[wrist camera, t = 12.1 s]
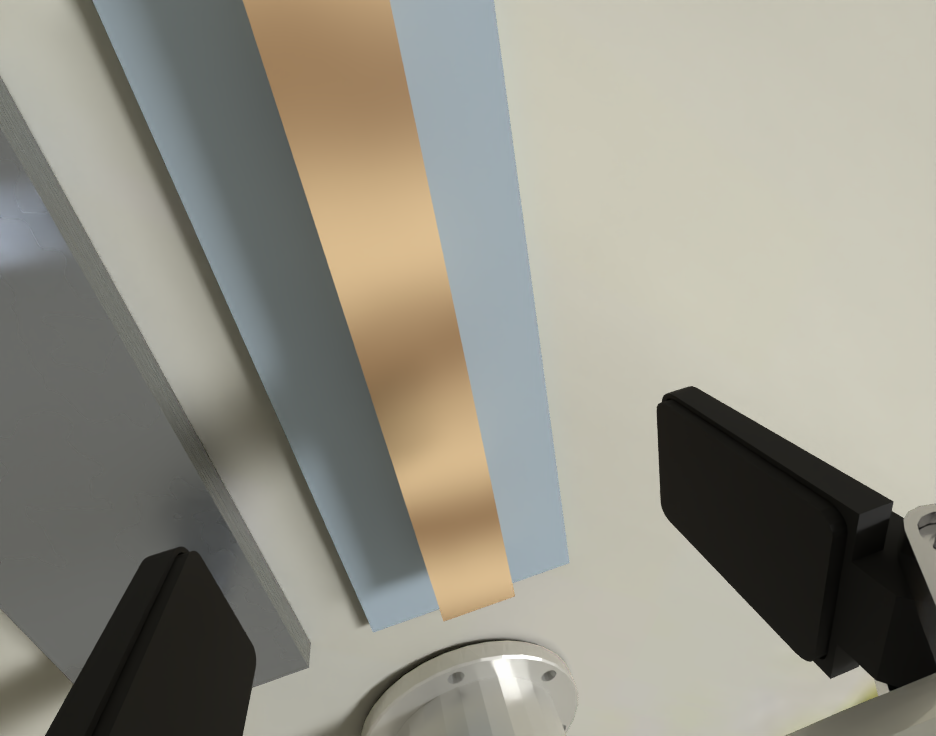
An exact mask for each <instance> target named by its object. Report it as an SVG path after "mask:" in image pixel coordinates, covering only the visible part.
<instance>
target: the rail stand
mask: <svg viewBox="0 0 936 736" xmlns="http://www.w3.org/2000/svg"><path fill="white" fill-rule="evenodd" d="M176 547H185V548H186V549H188V551H189V552H191V551H197V552H198V553H199V554H200V555H201V557H202V559H203V560H204V562H205V564H206V565H207V567H208V569H209V571H210V572H211V574H212V576H213V577H214V579H215V581H216V583H217V584H218V586H219V588H220V589H221V591H222V593H223V595H224V596H225V598H226V600H227V601H228V603H229V605H230V607H231V608H232V610H233V612H234V613H235V615H236V617H237V618H238V620H239V622H240V624H241V625H242V627H243V629H244V630H245V632H246V634H247V636H248V637H249V639H250V641H251V642H252V644H253V646H254V649H255V653H256V669H255V675H254V680H253V685H252V688H253V687H256V686H258V685H261V684H264V683H267V682H270V681H272V680H275V679H278V678H281V677H284V676H286V675H289V674H292V673H295V672H298V671H300V670H303V669H306V668H309V659H310V645H311V643H310V641H309V639H308V637H307V635H306V634H305V632H304V630H303V628H302V626H301V625H300V623H299V621H298V619H297V617H296V615H295V614H294V612H293V610H292V608H291V606H290V604H289V603H288V601H287V599H286V597H285V595H284V593H283V592H282V590H281V588H280V586H279V584H278V583H277V581H276V579H275V577H274V575H273V573H272V572H271V570H270V568H269V566H268V564H267V562H266V561H265V559H264V557H263V555H262V553H261V552H260V550H259V548H258V546H257V544H256V542H255V541H254V539H253V537H252V535H251V533H250V531H249V530H248V528H247V526H246V524H245V522H244V520H243V519H242V517H241V515H240V513H239V511H238V510H237V508H236V506H235V504H234V502H233V500H232V499H231V497H230V495H229V493H228V491H227V489H226V488H225V486H224V484H223V482H222V480H221V478H220V477H219V475H218V473H217V471H216V469H215V468H214V466H213V464H212V462H211V460H210V458H209V457H208V455H207V453H206V451H205V449H204V447H203V446H202V444H201V442H200V440H199V438H198V436H197V435H196V433H195V431H194V429H193V427H192V426H191V424H190V422H189V420H188V418H187V416H186V415H185V413H184V411H183V409H182V407H181V405H180V404H179V402H178V400H177V398H176V396H175V394H174V393H173V391H172V389H171V387H170V385H169V384H168V382H167V380H166V378H165V376H164V374H163V373H162V371H161V369H160V367H159V365H158V363H157V362H156V360H155V358H154V356H153V354H152V352H151V351H150V349H149V347H148V345H147V343H146V342H145V340H144V338H143V336H142V334H141V332H140V331H139V329H138V327H137V325H136V323H135V321H134V320H133V318H132V316H131V314H130V312H129V310H128V309H127V307H126V305H125V303H124V301H123V300H122V298H121V296H120V294H119V292H118V290H117V289H116V287H115V285H114V283H113V281H112V279H111V278H110V276H109V274H108V272H107V270H106V268H105V267H104V265H103V263H102V261H101V259H100V258H99V256H98V254H97V252H96V250H95V248H94V247H93V245H92V243H91V241H90V239H89V237H88V236H87V234H86V232H85V230H84V228H83V226H82V225H81V223H80V221H79V219H78V217H77V216H76V214H75V212H74V210H73V208H72V206H71V205H70V203H69V201H68V199H67V197H66V195H65V194H64V192H63V190H62V188H61V186H60V185H59V183H58V181H57V179H56V177H55V175H54V174H53V172H52V170H51V168H50V166H49V164H48V163H47V161H46V159H45V157H44V155H43V153H42V152H41V150H40V148H39V146H38V144H37V143H36V141H35V139H34V137H33V135H32V133H31V132H30V130H29V128H28V126H27V124H26V122H25V121H24V119H23V117H22V115H21V113H20V111H19V110H18V108H17V106H16V104H15V102H14V101H13V99H12V97H11V95H10V93H9V91H8V90H7V88H6V86H5V84H4V82H3V80H2V79H1V77H0V609H1V610H2V611H3V612H4V613H5V614H6V615H7V616H8V617H9V618H10V619H11V620H12V621H13V622H14V623H15V624H16V625H17V626H18V627H19V628H20V629H21V630H22V631H23V632H24V633H25V634H26V635H27V636H28V637H29V638H30V639H31V641H32V642H33V643H34V644H35V645H36V646H37V647H38V648H39V649H40V650H41V651H42V652H43V653H44V654H45V655H46V656H47V657H48V658H49V659H50V660H51V661H52V662H53V663H54V664H55V665H56V666H57V667H58V668H59V669H60V670H61V671H62V672H63V673H64V674H65V676H66V677H67V678H68V679H69V680H70V681H71V682H72V683H73V684H74V683H75V681H76V679H77V677H78V676H79V674H80V672H81V670H82V668H83V667H84V665H85V663H86V661H87V659H88V658H89V656H90V654H91V652H92V650H93V649H94V647H95V645H96V643H97V641H98V640H99V638H100V636H101V634H102V632H103V631H104V629H105V627H106V625H107V623H108V622H109V620H110V618H111V616H112V614H113V613H114V611H115V609H116V607H117V605H118V604H119V602H120V600H121V598H122V596H123V595H124V593H125V591H126V589H127V587H128V586H129V584H130V582H131V580H132V578H133V577H134V575H135V573H136V571H137V569H138V568H139V566H140V564H141V562H142V561H143V560H144V559H145V558H146V557H148V556H151V555H154V554H157V553H161V552H164V551H167V550H170V549H173V548H176Z"/></svg>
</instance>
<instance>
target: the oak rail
mask: <svg viewBox="0 0 936 736" xmlns="http://www.w3.org/2000/svg"><path fill="white" fill-rule="evenodd" d="M243 3H244V6H245V9H246V12H247V15H248V18H249V21H250V25H251V28H252V31H253V34H254V37H255V40H256V43H257V46H258V49H259V52H260V55H261V59H262V62H263V65H264V68H265V71H266V74H267V77H268V80H269V83H270V86H271V89H272V93H273V96H274V99H275V102H276V105H277V108H278V111H279V114H280V117H281V120H282V123H283V127H284V130H285V133H286V136H287V139H288V142H289V145H290V148H291V151H292V154H293V157H294V161H295V164H296V167H297V170H298V173H299V176H300V179H301V182H302V185H303V188H304V191H305V195H306V198H307V201H308V204H309V207H310V210H311V213H312V216H313V219H314V222H315V225H316V229H317V232H318V235H319V238H320V241H321V244H322V247H323V250H324V253H325V256H326V259H327V263H328V266H329V269H330V272H331V275H332V278H333V281H334V284H335V287H336V290H337V293H338V297H339V300H340V303H341V306H342V309H343V312H344V315H345V318H346V321H347V324H348V327H349V331H350V334H351V337H352V340H353V343H354V346H355V349H356V352H357V355H358V358H359V361H360V364H361V368H362V371H363V374H364V377H365V380H366V383H367V386H368V389H369V392H370V395H371V398H372V402H373V405H374V408H375V411H376V414H377V417H378V420H379V423H380V426H381V429H382V432H383V436H384V439H385V442H386V445H387V448H388V451H389V454H390V457H391V460H392V463H393V466H394V470H395V473H396V476H397V479H398V482H399V485H400V488H401V491H402V494H403V497H404V500H405V504H406V507H407V510H408V513H409V516H410V519H411V522H412V525H413V528H414V531H415V534H416V538H417V541H418V544H419V547H420V550H421V553H422V556H423V559H424V562H425V565H426V568H427V572H428V575H429V578H430V581H431V584H432V587H433V590H434V593H435V596H436V599H437V602H438V606H439V609H440V612H441V615H442V618H443V621H446V620H449V619H452V618H455V617H458V616H460V615H463V614H466V613H469V612H472V611H475V610H477V609H480V608H483V607H486V606H489V605H492V604H494V603H497V602H500V601H503V600H506V599H508V598H511V597H514V596H515V594H514V589H513V584H512V579H511V575H510V570H509V565H508V560H507V556H506V551H505V546H504V541H503V537H502V532H501V527H500V522H499V518H498V513H497V508H496V503H495V499H494V494H493V489H492V484H491V479H490V475H489V470H488V465H487V460H486V456H485V451H484V446H483V441H482V437H481V432H480V427H479V422H478V418H477V413H476V408H475V403H474V399H473V394H472V389H471V384H470V380H469V375H468V370H467V365H466V361H465V356H464V351H463V346H462V342H461V337H460V332H459V327H458V323H457V318H456V313H455V308H454V304H453V299H452V294H451V289H450V285H449V280H448V275H447V270H446V266H445V261H444V256H443V251H442V247H441V242H440V237H439V232H438V228H437V223H436V218H435V213H434V209H433V204H432V199H431V194H430V190H429V185H428V180H427V175H426V171H425V166H424V161H423V156H422V151H421V147H420V142H419V137H418V132H417V128H416V123H415V118H414V113H413V109H412V104H411V99H410V94H409V90H408V85H407V80H406V75H405V71H404V66H403V61H402V56H401V52H400V47H399V42H398V37H397V33H396V28H395V23H394V18H393V14H392V9H391V4H390V0H243Z"/></svg>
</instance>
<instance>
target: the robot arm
mask: <svg viewBox="0 0 936 736" xmlns="http://www.w3.org/2000/svg"><path fill="white" fill-rule="evenodd" d="M657 429H658V451H659V474H660V496H661V506H662V509H663V512H664V514H665V516H666V517H667V519H668V520H669V521H670V522H671V523H672V524H673V525H674V526H675V527H676V528H677V529H678V531H679V532H680V533H681V534H682V535H683V536H684V537H685V538H686V539H687V540H688V541H689V542H690V543H691V544H692V545H693V546H694V547H695V548H696V549H697V550H698V551H699V552H700V553H701V555H702V556H703V557H704V558H705V559H706V560H707V561H708V562H709V563H710V564H711V565H712V566H713V567H714V568H715V569H716V570H717V571H718V572H719V573H720V574H721V575H722V576H723V577H724V579H725V580H726V581H727V582H728V583H729V584H730V585H731V586H732V587H733V588H734V589H735V590H736V591H737V592H738V593H739V594H740V595H741V596H742V597H743V598H744V599H745V600H746V602H747V603H748V604H749V605H750V606H751V607H752V608H753V609H754V610H755V611H756V612H757V613H758V614H759V615H760V616H761V617H762V618H763V619H764V620H765V621H766V622H767V623H768V624H769V626H770V627H771V628H772V629H773V630H774V631H775V632H776V633H777V634H778V635H779V636H780V637H781V638H782V639H783V640H784V641H785V642H786V643H787V644H788V645H789V646H790V647H791V649H792V650H793V651H794V652H795V653H796V654H798V655H799V656H800V657H801V658H803V659H804V660H806V661H809V662H810V661H814V662H815V663H816V664H817V665H818V666H819V667H820V668H821V669H822V670H823V672H824V673H825V674H826V675H827V676H828V677H829V678H830V679H831V678H834V677H836V676H838V675H841V674H843V673H845V672H848V671H850V670H852V669H854V668H857V667H859V665H860V666H861V667H862V668H863V669H864V670H866V671H867V672H868V673H869V674H870V675H871V676H872V677H873V678H874V680H875V684H876V688H877V692H878V697H875V698H873V699H870V700H868V701H866V702H863V703H861V704H858V705H856V706H853V707H851V708H848V709H846V710H843V711H841V712H839V713H837V714H834V715H832V716H830V717H827V718H825V719H823V720H820V721H818V722H816V723H814V724H811V725H809V726H807V727H804V728H802V729H800V730H797V731H795V732H793V733H791V734H788V735H786V736H936V504H930V505H924V506H919V507H917V508H915V509H913V510H911V511H909V512H908V513H907V515H906V516H905V518H903V517H901V516H899V515H898V514H896V513H894V512H893V511H892V506H893V501H891V500H890V499H888V498H886V497H885V496H883V495H881V494H879V493H878V492H876V491H874V490H872V489H871V488H869V487H867V486H866V485H864V484H862V483H860V482H859V481H857V480H855V479H853V478H852V477H850V476H848V475H846V474H845V473H843V472H841V471H840V470H838V469H836V468H834V467H833V466H831V465H829V464H827V463H826V462H824V461H822V460H821V459H819V458H817V457H815V456H814V455H812V454H810V453H808V452H807V451H805V450H803V449H802V448H800V447H798V446H796V445H795V444H793V443H791V442H789V441H788V440H786V439H784V438H783V437H781V436H779V435H777V434H776V433H774V432H772V431H770V430H769V429H767V428H765V427H763V426H762V425H760V424H758V423H757V422H755V421H753V420H751V419H750V418H748V417H746V416H744V415H743V414H741V413H739V412H738V411H736V410H734V409H732V408H731V407H729V406H727V405H725V404H724V403H722V402H720V401H719V400H717V399H715V398H713V397H712V396H710V395H708V394H706V393H705V392H703V391H701V390H699V389H698V388H696V387H693V386H690V387H686V388H683V389H680V390H676V391H673V392H670V393H667V394H665V395H664V396H663V399H662V402H661V403H659V404H658V406H657ZM255 669H256V653H255V649H254V646H253V644H252V642H251V641H250V639H249V637H248V636H247V634H246V632H245V630H244V629H243V627H242V625H241V624H240V622H239V620H238V618H237V617H236V615H235V613H234V612H233V610H232V608H231V607H230V605H229V603H228V601H227V600H226V598H225V596H224V595H223V593H222V591H221V589H220V588H219V586H218V584H217V583H216V581H215V579H214V577H213V576H212V574H211V572H210V571H209V569H208V567H207V565H206V564H205V562H204V560H203V559H202V557H201V555H200V554H199V553H198V552H197V551H191V552H189V551H188V549H186V548H185V547H176V548H173V549H170V550H167V551H164V552H161V553H157V554H154V555H151V556H148V557H146V558H145V559H144V560H143V561H142V562H141V564H140V566H139V568H138V569H137V571H136V573H135V575H134V577H133V578H132V580H131V582H130V584H129V586H128V587H127V589H126V591H125V593H124V595H123V596H122V598H121V600H120V602H119V604H118V605H117V607H116V609H115V611H114V613H113V614H112V616H111V618H110V620H109V622H108V623H107V625H106V627H105V629H104V631H103V632H102V634H101V636H100V638H99V640H98V641H97V643H96V645H95V647H94V649H93V650H92V652H91V654H90V656H89V658H88V659H87V661H86V663H85V665H84V667H83V668H82V670H81V672H80V674H79V676H78V677H77V679H76V681H75V683H74V685H73V686H72V688H71V690H70V692H69V694H68V695H67V697H66V699H65V701H64V703H63V704H62V706H61V708H60V710H59V712H58V713H57V715H56V717H55V719H54V721H53V722H52V724H51V726H50V728H49V730H48V731H47V733H46V735H45V736H243V731H244V726H245V721H246V715H247V710H248V705H249V700H250V695H251V690H252V685H253V680H254V675H255ZM577 706H578V691H577V688H576V685H575V681H574V679H573V677H572V675H571V673H570V671H569V669H568V667H567V665H566V663H565V662H564V661H563V660H562V659H561V658H560V657H559V656H558V655H557V654H556V653H554V652H552V651H550V650H548V649H547V648H545V647H542V646H539V645H535V644H532V643H528V642H520V641H509V640H505V641H490V642H483V643H478V644H473V645H468V646H464V647H461V648H458V649H455V650H452V651H449V652H446V653H444V654H441V655H439V656H437V657H435V658H433V659H431V660H429V661H427V662H425V663H423V664H421V665H419V666H418V667H416V668H415V669H413V670H412V671H410V672H408V673H407V674H405V675H404V676H403V677H401V678H400V679H399V680H398V681H397V682H396V683H394V684H393V685H392V686H391V687H390V688H388V689H387V691H386V692H385V693H384V694H383V695H382V696H381V697H380V699H379V700H378V701H377V702H376V703H375V704H374V706H373V707H372V709H371V711H370V713H369V714H368V716H367V718H366V720H365V722H364V726H363V729H362V732H361V736H566V733H567V731H568V729H569V727H570V725H571V724H572V722H573V720H574V717H575V714H576V710H577Z"/></svg>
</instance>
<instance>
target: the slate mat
mask: <svg viewBox="0 0 936 736" xmlns="http://www.w3.org/2000/svg"><path fill="white" fill-rule="evenodd" d="M92 1H93V3H94V5H95V7H96V10H97V12H98V14H99V16H100V19H101V21H102V23H103V25H104V28H105V30H106V32H107V34H108V37H109V39H110V41H111V43H112V46H113V48H114V50H115V52H116V55H117V57H118V59H119V61H120V64H121V66H122V68H123V70H124V73H125V75H126V77H127V79H128V82H129V84H130V86H131V88H132V91H133V93H134V95H135V97H136V100H137V102H138V104H139V106H140V109H141V111H142V113H143V115H144V118H145V120H146V122H147V124H148V127H149V129H150V131H151V133H152V136H153V138H154V140H155V142H156V145H157V147H158V149H159V151H160V154H161V156H162V158H163V160H164V163H165V165H166V167H167V169H168V172H169V174H170V176H171V178H172V181H173V183H174V185H175V187H176V190H177V192H178V194H179V196H180V199H181V201H182V203H183V205H184V208H185V210H186V212H187V214H188V217H189V219H190V221H191V223H192V226H193V228H194V230H195V232H196V235H197V237H198V239H199V241H200V244H201V246H202V248H203V250H204V253H205V255H206V257H207V259H208V262H209V264H210V266H211V268H212V271H213V273H214V275H215V277H216V280H217V282H218V284H219V286H220V289H221V291H222V293H223V295H224V298H225V300H226V302H227V304H228V307H229V309H230V311H231V313H232V316H233V318H234V320H235V322H236V325H237V327H238V329H239V331H240V334H241V336H242V338H243V340H244V343H245V345H246V347H247V349H248V352H249V354H250V356H251V358H252V361H253V363H254V365H255V367H256V370H257V372H258V374H259V376H260V379H261V381H262V383H263V385H264V388H265V390H266V392H267V394H268V397H269V399H270V401H271V403H272V406H273V408H274V410H275V412H276V415H277V417H278V419H279V421H280V424H281V426H282V428H283V430H284V433H285V435H286V437H287V439H288V442H289V444H290V446H291V448H292V451H293V453H294V455H295V457H296V460H297V462H298V464H299V466H300V469H301V471H302V473H303V475H304V478H305V480H306V482H307V484H308V487H309V489H310V491H311V493H312V496H313V498H314V500H315V502H316V505H317V507H318V509H319V511H320V514H321V516H322V518H323V520H324V523H325V525H326V527H327V529H328V532H329V534H330V536H331V538H332V541H333V543H334V545H335V547H336V550H337V552H338V554H339V556H340V559H341V561H342V563H343V565H344V568H345V570H346V572H347V574H348V577H349V579H350V581H351V583H352V586H353V588H354V590H355V592H356V595H357V597H358V599H359V601H360V604H361V606H362V608H363V610H364V613H365V615H366V617H367V619H368V622H369V624H370V626H371V628H372V631H373V632H376V631H379V630H382V629H384V628H387V627H390V626H393V625H396V624H399V623H401V622H404V621H407V620H410V619H413V618H415V617H418V616H421V615H424V614H427V613H430V612H432V611H435V610H438V609H439V606H438V602H437V599H436V596H435V593H434V590H433V587H432V584H431V581H430V578H429V575H428V572H427V568H426V565H425V562H424V559H423V556H422V553H421V550H420V547H419V544H418V541H417V538H416V534H415V531H414V528H413V525H412V522H411V519H410V516H409V513H408V510H407V507H406V504H405V500H404V497H403V494H402V491H401V488H400V485H399V482H398V479H397V476H396V473H395V470H394V466H393V463H392V460H391V457H390V454H389V451H388V448H387V445H386V442H385V439H384V436H383V432H382V429H381V426H380V423H379V420H378V417H377V414H376V411H375V408H374V405H373V402H372V398H371V395H370V392H369V389H368V386H367V383H366V380H365V377H364V374H363V371H362V368H361V364H360V361H359V358H358V355H357V352H356V349H355V346H354V343H353V340H352V337H351V334H350V331H349V327H348V324H347V321H346V318H345V315H344V312H343V309H342V306H341V303H340V300H339V297H338V293H337V290H336V287H335V284H334V281H333V278H332V275H331V272H330V269H329V266H328V263H327V259H326V256H325V253H324V250H323V247H322V244H321V241H320V238H319V235H318V232H317V229H316V225H315V222H314V219H313V216H312V213H311V210H310V207H309V204H308V201H307V198H306V195H305V191H304V188H303V185H302V182H301V179H300V176H299V173H298V170H297V167H296V164H295V161H294V157H293V154H292V151H291V148H290V145H289V142H288V139H287V136H286V133H285V130H284V127H283V123H282V120H281V117H280V114H279V111H278V108H277V105H276V102H275V99H274V96H273V93H272V89H271V86H270V83H269V80H268V77H267V74H266V71H265V68H264V65H263V62H262V59H261V55H260V52H259V49H258V46H257V43H256V40H255V37H254V34H253V31H252V28H251V25H250V21H249V18H248V15H247V12H246V9H245V6H244V3H243V0H92ZM390 4H391V9H392V14H393V18H394V23H395V28H396V33H397V37H398V42H399V47H400V52H401V56H402V61H403V66H404V71H405V75H406V80H407V85H408V90H409V94H410V99H411V104H412V109H413V113H414V118H415V123H416V128H417V132H418V137H419V142H420V147H421V151H422V156H423V161H424V166H425V171H426V175H427V180H428V185H429V190H430V194H431V199H432V204H433V209H434V213H435V218H436V223H437V228H438V232H439V237H440V242H441V247H442V251H443V256H444V261H445V266H446V270H447V275H448V280H449V285H450V289H451V294H452V299H453V304H454V308H455V313H456V318H457V323H458V327H459V332H460V337H461V342H462V346H463V351H464V356H465V361H466V365H467V370H468V375H469V380H470V384H471V389H472V394H473V399H474V403H475V408H476V413H477V418H478V422H479V427H480V432H481V437H482V441H483V446H484V451H485V456H486V460H487V465H488V470H489V475H490V479H491V484H492V489H493V494H494V499H495V503H496V508H497V513H498V518H499V522H500V527H501V532H502V537H503V541H504V546H505V551H506V556H507V560H508V565H509V570H510V575H511V579H512V583H514V582H517V581H520V580H523V579H526V578H528V577H531V576H534V575H537V574H540V573H543V572H545V571H548V570H551V569H554V568H557V567H559V566H562V565H565V564H568V563H569V556H568V548H567V541H566V534H565V526H564V519H563V511H562V504H561V496H560V489H559V482H558V474H557V467H556V459H555V452H554V444H553V437H552V430H551V422H550V415H549V407H548V400H547V392H546V385H545V378H544V370H543V363H542V355H541V348H540V340H539V333H538V325H537V318H536V311H535V303H534V296H533V288H532V281H531V273H530V266H529V259H528V251H527V244H526V236H525V229H524V221H523V214H522V207H521V199H520V192H519V184H518V177H517V169H516V162H515V155H514V147H513V140H512V132H511V125H510V117H509V110H508V103H507V95H506V88H505V80H504V73H503V65H502V58H501V51H500V43H499V36H498V28H497V21H496V13H495V6H494V0H390Z"/></svg>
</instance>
